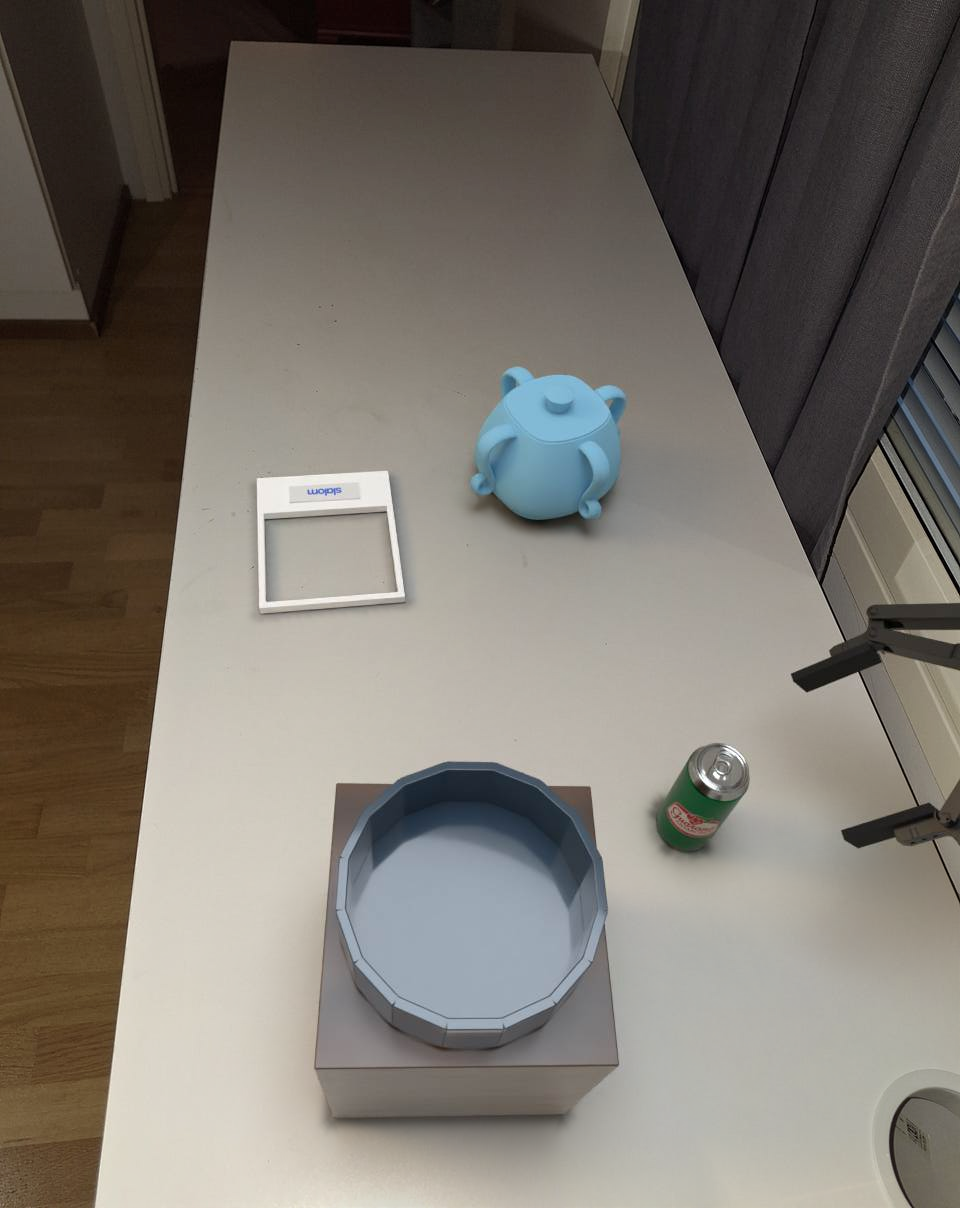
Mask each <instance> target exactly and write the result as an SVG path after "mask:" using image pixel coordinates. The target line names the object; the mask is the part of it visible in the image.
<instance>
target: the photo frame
mask: <svg viewBox="0 0 960 1208" xmlns="http://www.w3.org/2000/svg"><path fill="white" fill-rule="evenodd" d="M256 506H257V507H256V508H257V509H256V510H257V513H256V514H257V564H258V566H257V568H258V569H257V570H258V571H257V572H258V609H259V614H272V613H273V614H274V613H284V612H298V611H311V610H321V609H335V608H347V607H357V606H358V607H360V606H373V605H383V604H385V605H386V604H395V603H397V604H398V603H405V602H406V594H405V589H404V588H405V587H404V580H403V571H402V565H401V558H400V549H399V543H398V535H397V528H396V521H395V512H394V506H393V498H392V491H391V484H390V477H389V471H388V470H378V471H377V470H375V471H359V472H357V471H356V472H343V473H342V472H341V473H340V472H339V473H325V474H323V473H322V474H306V475H289V476H288V475H287V476H273V477H272V476H271V477H257V478H256ZM381 512H382V513H383V512H386V515H387V524H388V531H389V539H390V546H391V548H390V549H391V554H392V563H393V569H394V577H395V578H394V579H395V584H396V585H395V586H396V591H393V592H392V591H391V592H381V593H379V592H377V593H367V594H366V593H365V594H354V595H341V596H327V597H318V598H317V597H316V598H304V599H303V598H302V599H290V600H278V601H276V600H275V601H267V567H266V566H267V565H266V564H267V563H266V529H265V528H266V525H265V524H266V522H265V520H271V519H288V518H305V517H318V516H321V517H322V516H334V515H335V516H336V515H351V514H365V513H381Z"/></svg>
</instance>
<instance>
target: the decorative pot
mask: <svg viewBox="0 0 960 1208" xmlns="http://www.w3.org/2000/svg"><path fill="white" fill-rule="evenodd" d="M517 384H518V386H517ZM500 393H501V399H500V401H499V402H498V403H497V405H496V406H495V407H494V408H493V409H492V411H491V412H490V414H488V417H487V418H486V419H485V421H484V422H483V425H482V426H481V428H480V431H479V433H478V437H477V439H476V443H475V447H474V454H473V455H474V456H473V457H474V462H475V466H476V468H477V470H478V472H477V473H475V474H474V475H473V476H472V477H471V479H470V481H469V482H470V483H469V486H470V489H471V491H472V492H473V493H474V494H476V495H478V496H487V495H489V494H491V493H493V494H494V495H495V496H496V497H497V498H498V500H499V501H501V502H502V503H503V504H504V505H505V506H506V507H507V508H508V509H509V510H510V511H511V512H513V513H514V514H516V515H518V516H519V517H522V518H524V519H529V520H535V521H536V520H538V521H540V520H543V521H544V520H551V519H558V518H561V517H565V516H570V515H572V514H575V513H579V514H580V516H581V517H583V518H584V519H586V520H589V521H591V520H592V521H593V520H596V519H598V518H599V517H600V516H601V514H602V506H601V504H600V502H599V500H600V499H601V498H603V497H604V496H605V495H606V494H607V493H608V492H609V491H610V490H611V489H612V488H613V486H614V485H615V483H616V482H617V480H618V478H619V475H620V469H621V461H622V448H621V441H620V437H621V431H620V428H619V426H618V425H617V424H618V422H619V421H620V419H621V417H622V416H623V414H624V412H625V409H626V407H627V397H626V394H625V393H624V392H623V390H622V389H621V388H619V387H618V386H615V385H611V384H608V385H606V384H605V385H603V386H599V387H598V388H596V389H594V390H593V388H592V387H591V386H590V385H589V384H587V383H586V382H585V381H583V380H581V379H580V378H579V377H577V376H574V375H569V374H551V375H546V376H541V377H537V378H535V377H534V375H533V374H532V373H531V372H530V371H529V370H528V369H526V368H525V367H522V366H513V367H510V368H508V369H506V370H505V371H504V372H503V373H502V376H501V378H500ZM608 401H611V403H610V405H609V406H608V405H607V404H606V402H608Z"/></svg>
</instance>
